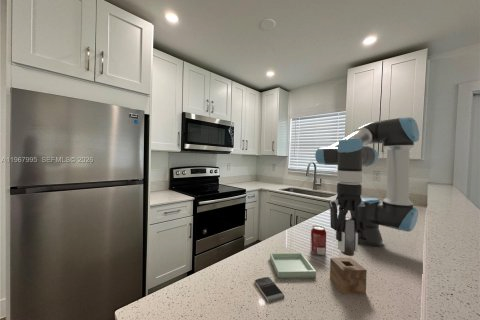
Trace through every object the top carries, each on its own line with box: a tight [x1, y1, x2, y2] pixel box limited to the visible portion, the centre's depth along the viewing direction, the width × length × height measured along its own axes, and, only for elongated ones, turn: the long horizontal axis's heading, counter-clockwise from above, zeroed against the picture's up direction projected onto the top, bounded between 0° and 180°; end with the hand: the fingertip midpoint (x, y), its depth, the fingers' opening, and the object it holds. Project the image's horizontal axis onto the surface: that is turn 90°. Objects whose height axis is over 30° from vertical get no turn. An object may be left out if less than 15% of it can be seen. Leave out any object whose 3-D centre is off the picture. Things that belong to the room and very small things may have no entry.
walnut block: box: [329, 257, 367, 295], centre depth 68 cm, size 8×8×8 cm
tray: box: [269, 252, 317, 280], centre depth 79 cm, size 14×14×2 cm
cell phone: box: [253, 276, 285, 304], centre depth 65 cm, size 6×11×1 cm, turn 21°
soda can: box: [310, 225, 327, 256], centre depth 92 cm, size 7×7×12 cm
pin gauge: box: [340, 216, 355, 257], centre depth 68 cm, size 4×4×12 cm
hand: (347, 249), depth 68 cm, fingers closed on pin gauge, 4 cm apart
